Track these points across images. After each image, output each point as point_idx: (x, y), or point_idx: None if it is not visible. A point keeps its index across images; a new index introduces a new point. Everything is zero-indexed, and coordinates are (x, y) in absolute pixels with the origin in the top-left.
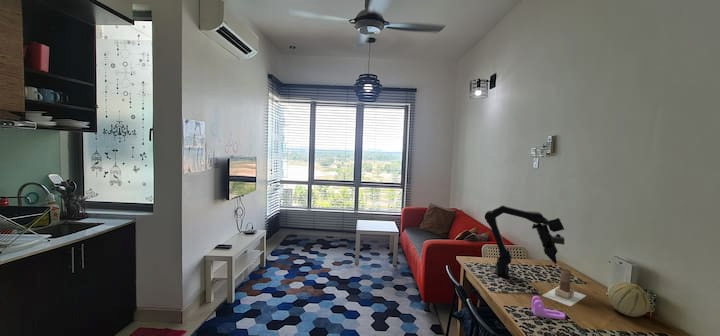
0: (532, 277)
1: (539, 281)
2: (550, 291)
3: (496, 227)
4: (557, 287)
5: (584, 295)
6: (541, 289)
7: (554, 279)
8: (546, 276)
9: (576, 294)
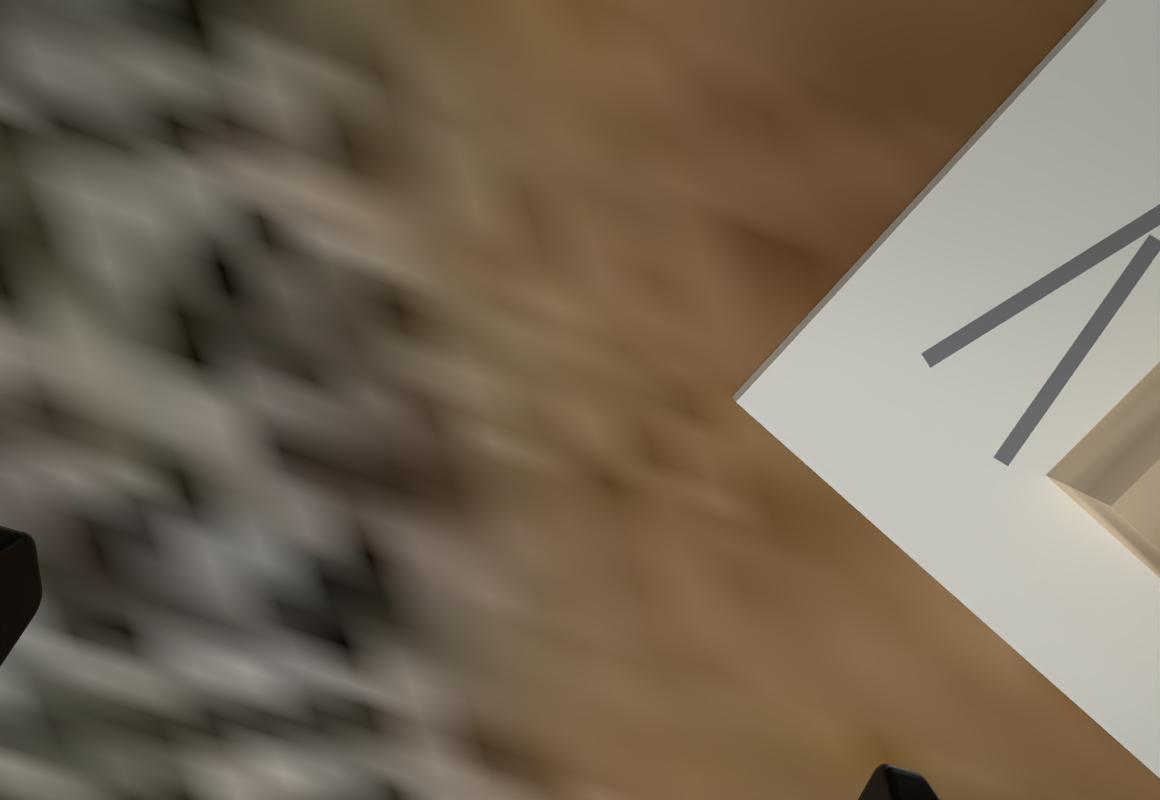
0: (294, 755)
1: (479, 683)
2: (1096, 698)
3: None
4: (826, 464)
5: (1155, 9)
6: None
7: (254, 313)
8: (129, 431)
9: (1132, 178)
